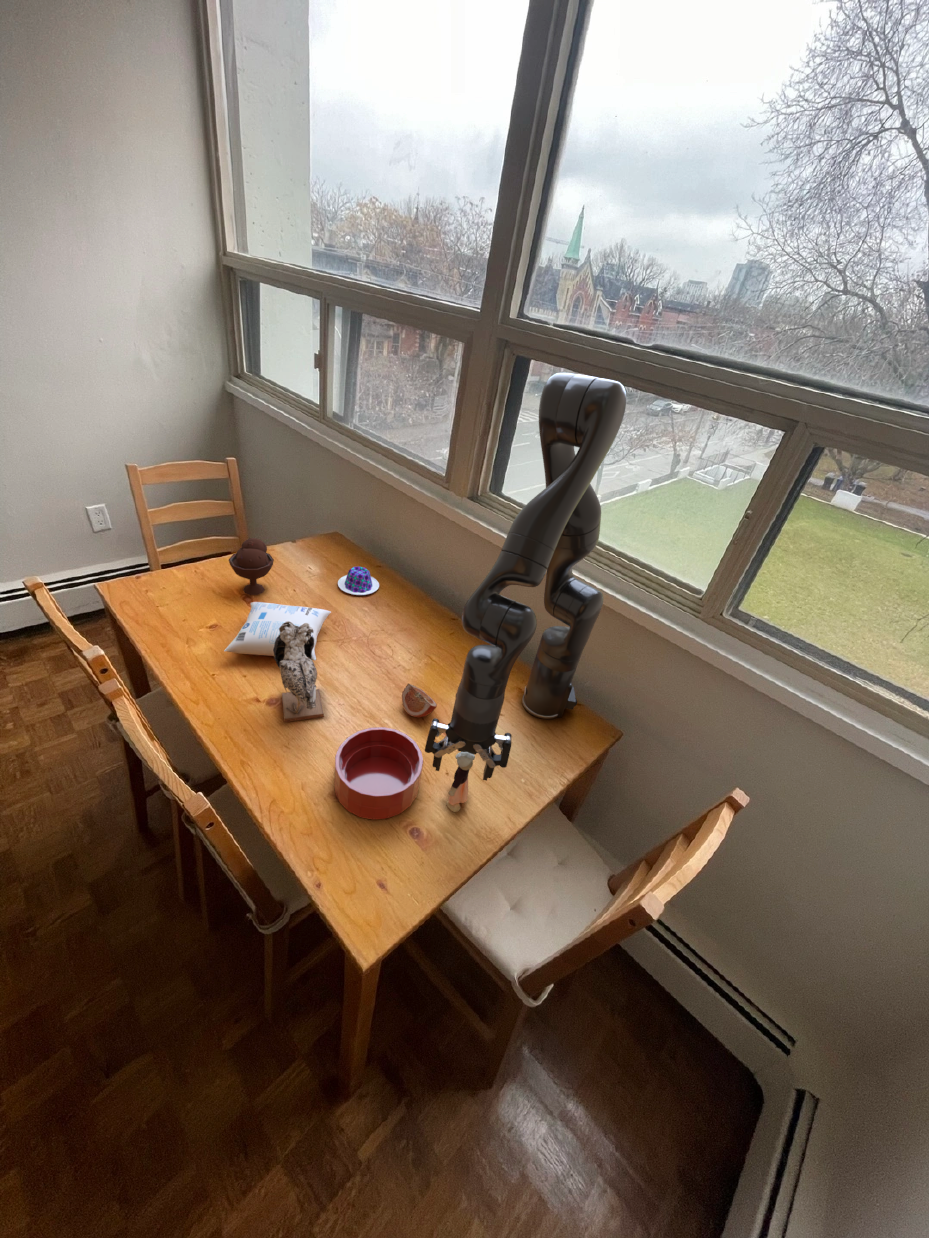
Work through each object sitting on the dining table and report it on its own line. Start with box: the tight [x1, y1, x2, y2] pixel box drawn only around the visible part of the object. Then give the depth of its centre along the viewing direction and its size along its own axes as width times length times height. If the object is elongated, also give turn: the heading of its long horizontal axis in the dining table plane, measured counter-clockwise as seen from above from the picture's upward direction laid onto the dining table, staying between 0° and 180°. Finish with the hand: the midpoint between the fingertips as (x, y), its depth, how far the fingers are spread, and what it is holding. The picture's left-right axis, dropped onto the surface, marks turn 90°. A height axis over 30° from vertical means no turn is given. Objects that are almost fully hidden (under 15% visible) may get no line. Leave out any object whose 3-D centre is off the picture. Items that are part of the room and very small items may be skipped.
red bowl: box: [334, 726, 424, 821], centre depth 92 cm, size 15×15×7 cm
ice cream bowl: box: [228, 537, 275, 596], centre depth 136 cm, size 11×11×15 cm
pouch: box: [223, 601, 332, 661], centre depth 121 cm, size 8×19×20 cm
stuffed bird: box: [273, 621, 325, 723], centre depth 103 cm, size 10×20×17 cm, turn 39°
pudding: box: [337, 566, 380, 596], centre depth 148 cm, size 12×12×5 cm
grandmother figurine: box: [445, 751, 476, 813], centre depth 91 cm, size 8×4×13 cm, turn 168°
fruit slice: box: [401, 683, 438, 718], centre depth 110 cm, size 8×7×5 cm
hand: (461, 771), depth 90 cm, fingers open, 8 cm apart
